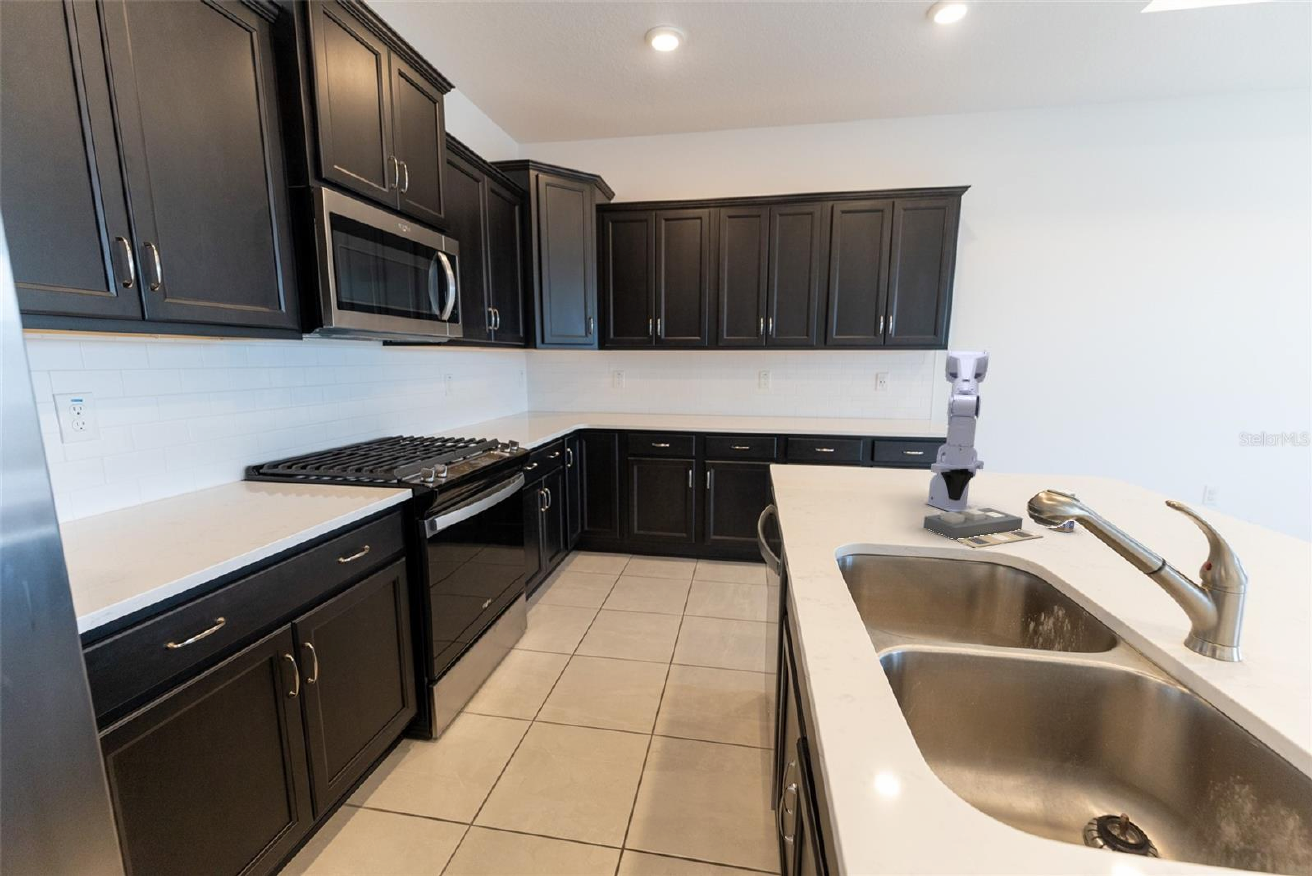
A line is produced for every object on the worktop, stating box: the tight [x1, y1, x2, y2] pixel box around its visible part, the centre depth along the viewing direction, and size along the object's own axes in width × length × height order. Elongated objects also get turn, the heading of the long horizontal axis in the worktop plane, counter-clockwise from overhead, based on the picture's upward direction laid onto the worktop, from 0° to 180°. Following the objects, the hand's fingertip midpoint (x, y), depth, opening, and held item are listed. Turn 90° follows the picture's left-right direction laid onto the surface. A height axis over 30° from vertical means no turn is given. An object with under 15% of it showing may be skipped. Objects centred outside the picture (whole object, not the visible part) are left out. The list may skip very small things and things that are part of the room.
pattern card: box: [956, 529, 1044, 548], centre depth 124 cm, size 5×22×1 cm, turn 109°
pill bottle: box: [1050, 489, 1076, 533], centre depth 131 cm, size 5×5×10 cm
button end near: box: [940, 511, 965, 524], centre depth 128 cm, size 4×4×3 cm
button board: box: [923, 507, 1024, 540], centre depth 131 cm, size 9×22×3 cm, turn 109°
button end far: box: [986, 512, 1006, 518], centre depth 133 cm, size 4×4×3 cm
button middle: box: [962, 508, 986, 521], centre depth 131 cm, size 4×4×3 cm
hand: (954, 499), depth 128 cm, fingers closed
